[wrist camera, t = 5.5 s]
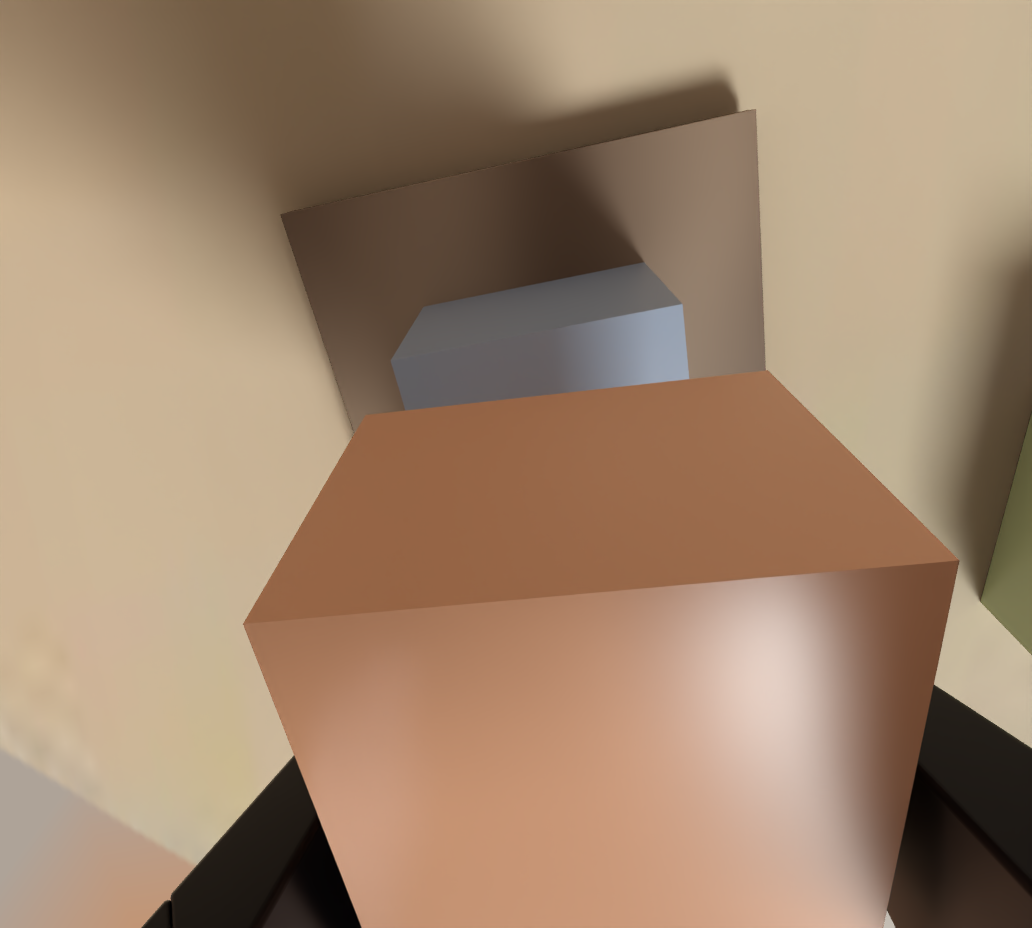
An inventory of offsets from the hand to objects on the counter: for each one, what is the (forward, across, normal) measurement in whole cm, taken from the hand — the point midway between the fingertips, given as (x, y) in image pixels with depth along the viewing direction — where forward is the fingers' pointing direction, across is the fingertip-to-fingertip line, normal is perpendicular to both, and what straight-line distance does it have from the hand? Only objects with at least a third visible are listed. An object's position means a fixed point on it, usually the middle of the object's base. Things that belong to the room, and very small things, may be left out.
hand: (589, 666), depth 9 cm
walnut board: (+9, 0, 0) cm, 9 cm away
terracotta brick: (+1, 0, 0) cm, 1 cm away
